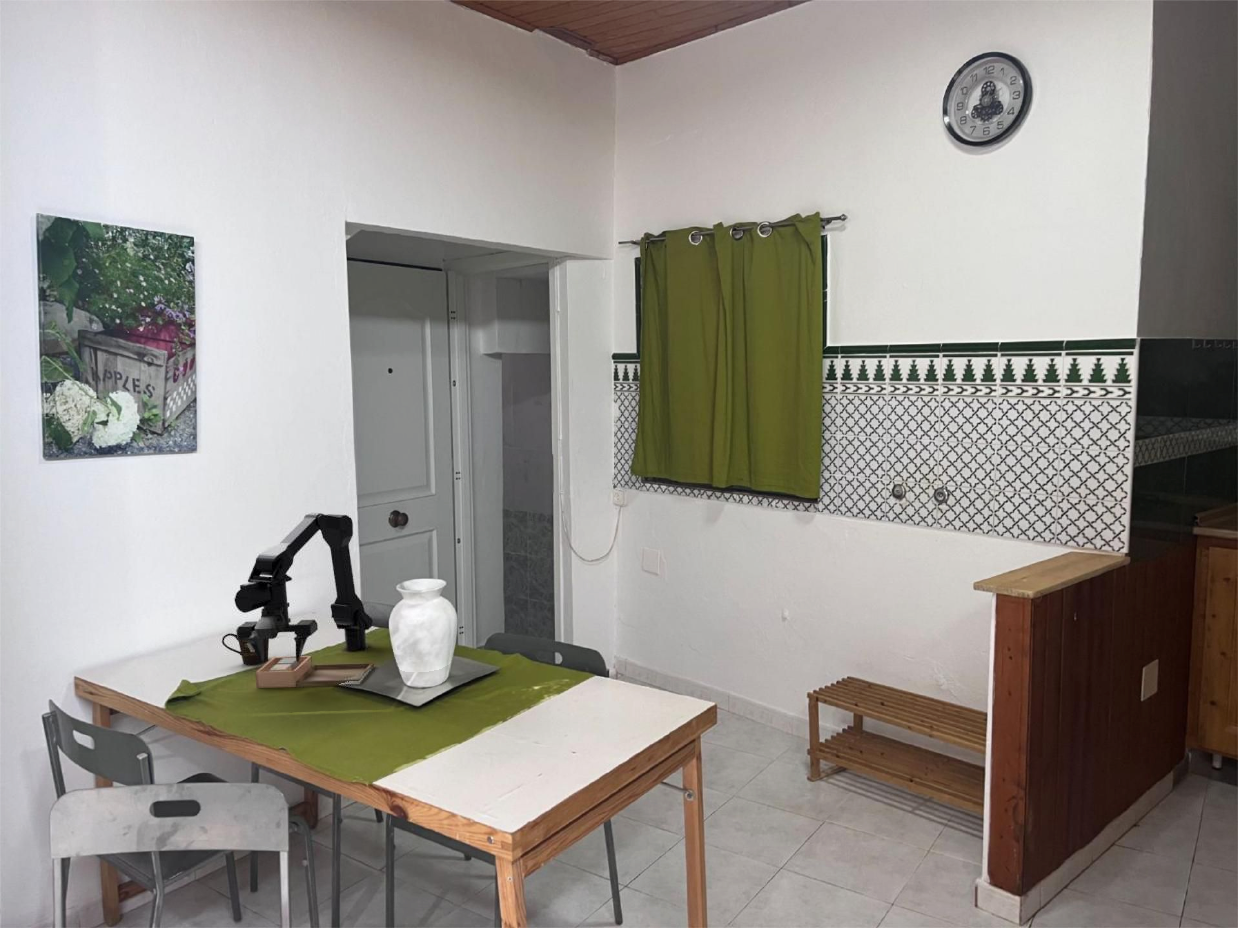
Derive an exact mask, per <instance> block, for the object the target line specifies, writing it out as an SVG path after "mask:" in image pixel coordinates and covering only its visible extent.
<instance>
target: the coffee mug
mask: <svg viewBox="0 0 1238 928" xmlns="http://www.w3.org/2000/svg"><path fill="white" fill-rule="evenodd" d="M241 625H242V624H241ZM241 625H237V626H236V627H235V632H236V634H235V633H232V632H231V633H226V634H224V635H223V636H222V638H221V643H222V645H223V647H225V648H226V649H228V650H230V651H231V652H233V653H236V654H239V655H240V656H241V659H242V660H241V661H242V663H243V665H244V666H257V665H261V664H264V663H265V664H266V662H269V649H270V648H269V646H270V645H269V644H270V639H269V638H266V639H263V647H264V661H263V662H262V663H261V662H260V660H259V658H258V656H257V655H256V653H255V651H254V649H253V647H252V646H251V644H250V643H248V642H247V641H243V640H242V639H243V638H237V629H238V627H239V626H241ZM230 636H231V637H234V638H235V639H236V640H237V642H238V645H239V650H238V649H235V648H232V647H230V646H228V645H227V644H226V643H225V639H226V638H227V637H230Z"/></svg>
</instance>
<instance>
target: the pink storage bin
mask: <svg viewBox="0 0 1238 928" xmlns="http://www.w3.org/2000/svg"><path fill="white" fill-rule="evenodd" d="M312 656H313V655H301V657H300V660H299V666H298V667H297V668H296V669H295V670H294V671H269V670H270V669H271V668H272V667H274V666H275V665H277V663H278V662H279V661H280V660H282V659H283V658H296V655H292V656H274V657H272V658H271V659H270V660H268V661H267V663H266V662H265V664H264V665H263V666H261V667H260V668H259V669H257V671H255V685H256V689H260V688H261V689H262V688H264V689H265V688H268V689H269V688H292V687H293V688H295V687H296V681H297V680H298V679H299V678H300V677H301V676H302V675H303V674H304V673H305V672H306V671H307V670H308V669H310V668H311V667H312V666H313V659H312V658H313V657H312Z"/></svg>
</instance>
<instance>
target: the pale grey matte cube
mask: <svg viewBox="0 0 1238 928" xmlns="http://www.w3.org/2000/svg"><path fill="white" fill-rule="evenodd" d="M279 664H291V668H292V671H294V670H295V669H296V668H297V667H298V666H299V661H298V662H297V661H296V658H283V659H282V660H280V661H279V662H278V663H277V665H279Z"/></svg>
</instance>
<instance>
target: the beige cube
mask: <svg viewBox="0 0 1238 928" xmlns="http://www.w3.org/2000/svg"><path fill="white" fill-rule="evenodd" d="M269 671H292V668H291V664H279V665H275V666H274V667H272V668H271V669H270V670H269Z"/></svg>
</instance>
